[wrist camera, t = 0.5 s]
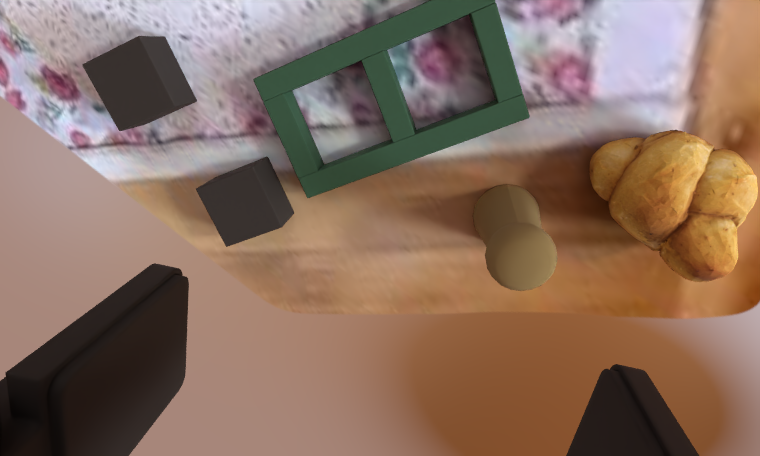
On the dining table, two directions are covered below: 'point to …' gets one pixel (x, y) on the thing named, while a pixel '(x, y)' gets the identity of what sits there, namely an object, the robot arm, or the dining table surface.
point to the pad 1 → (139, 81)
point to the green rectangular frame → (392, 94)
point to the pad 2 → (246, 202)
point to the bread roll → (678, 198)
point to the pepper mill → (514, 238)
